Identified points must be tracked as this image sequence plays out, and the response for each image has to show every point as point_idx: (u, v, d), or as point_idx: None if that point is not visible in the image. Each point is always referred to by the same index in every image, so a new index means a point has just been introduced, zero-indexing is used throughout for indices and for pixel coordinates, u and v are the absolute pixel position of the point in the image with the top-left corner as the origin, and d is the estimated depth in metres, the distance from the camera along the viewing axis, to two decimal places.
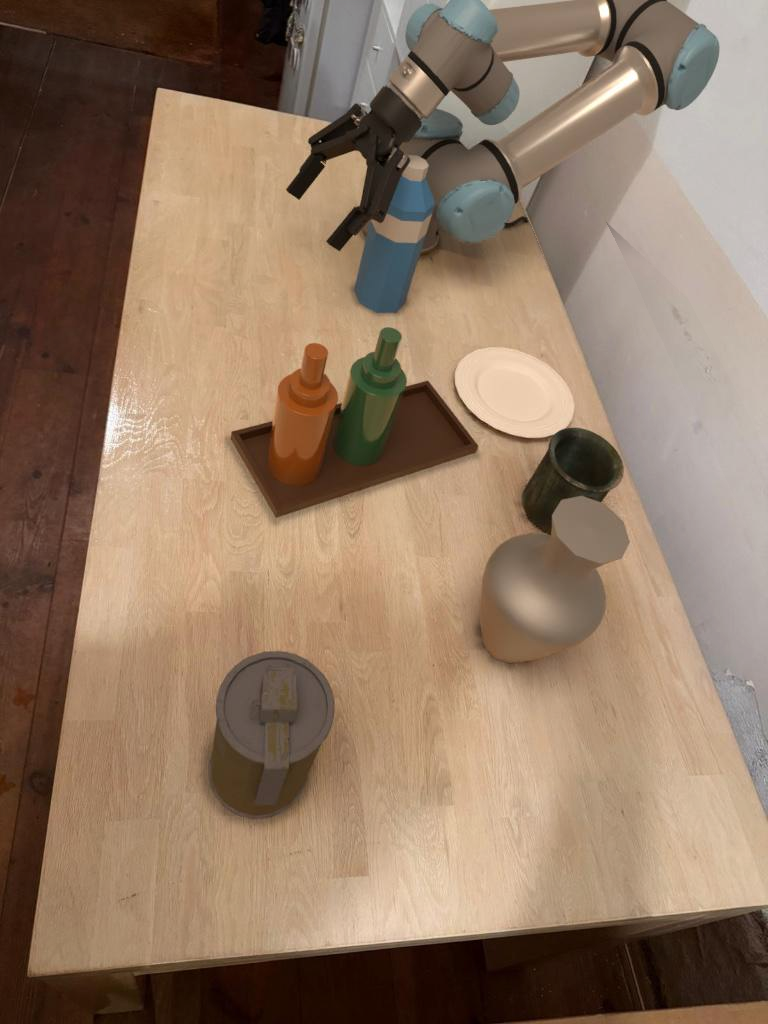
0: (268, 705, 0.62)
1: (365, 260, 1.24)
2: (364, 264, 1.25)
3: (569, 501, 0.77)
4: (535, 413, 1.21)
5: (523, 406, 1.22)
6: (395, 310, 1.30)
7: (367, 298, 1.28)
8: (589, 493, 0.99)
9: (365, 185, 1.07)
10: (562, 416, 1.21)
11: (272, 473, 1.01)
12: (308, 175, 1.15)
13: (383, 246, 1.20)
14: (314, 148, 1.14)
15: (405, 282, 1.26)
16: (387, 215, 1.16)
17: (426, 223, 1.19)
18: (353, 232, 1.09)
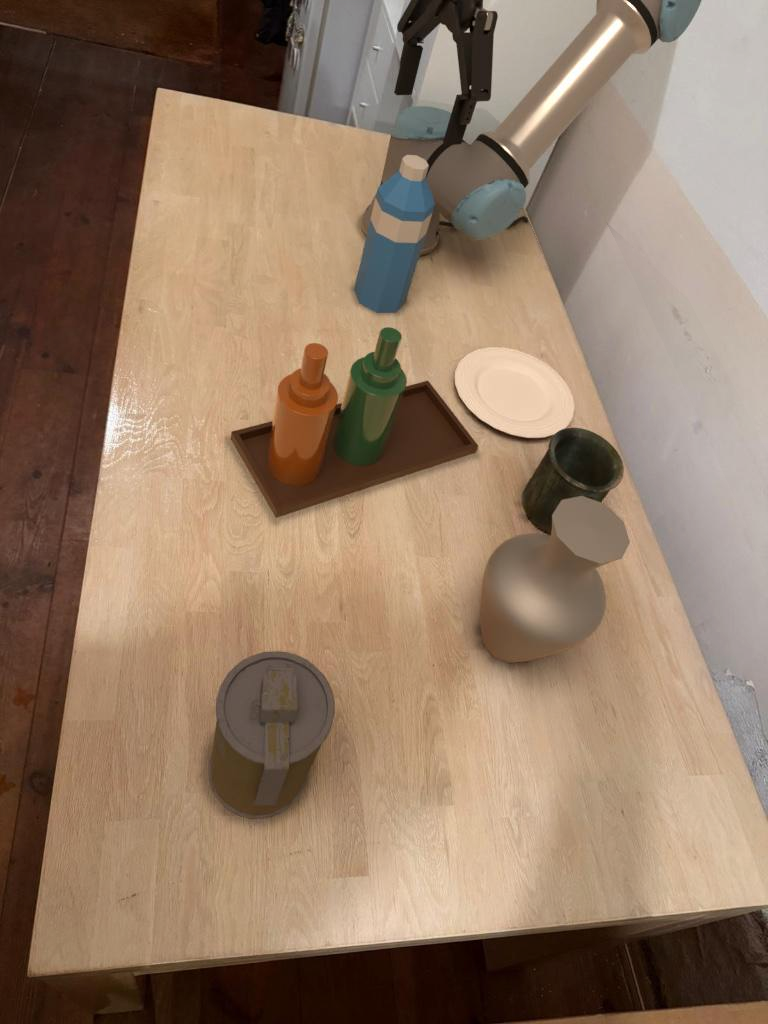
0: (268, 705, 0.62)
1: (365, 260, 1.24)
2: (364, 264, 1.25)
3: (569, 501, 0.77)
4: (535, 413, 1.21)
5: (523, 406, 1.22)
6: (395, 310, 1.30)
7: (367, 298, 1.28)
8: (589, 493, 0.99)
9: (460, 66, 0.97)
10: (562, 416, 1.21)
11: (272, 473, 1.01)
12: (409, 67, 1.07)
13: (383, 246, 1.20)
14: (404, 36, 1.04)
15: (405, 282, 1.26)
16: (387, 215, 1.16)
17: (426, 223, 1.19)
18: (465, 122, 1.01)
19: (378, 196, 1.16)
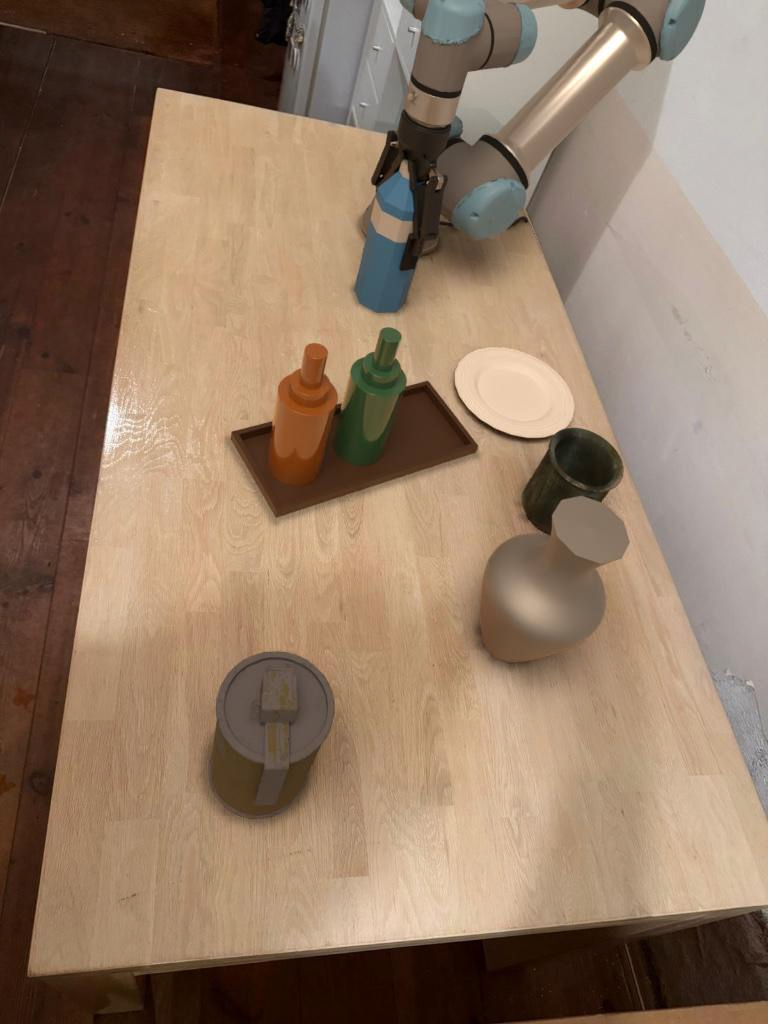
0: (268, 705, 0.62)
1: (365, 260, 1.24)
2: (364, 263, 1.25)
3: (569, 501, 0.77)
4: (535, 413, 1.21)
5: (523, 406, 1.22)
6: (395, 310, 1.30)
7: (367, 298, 1.28)
8: (589, 493, 0.99)
9: None
10: (562, 416, 1.21)
11: (272, 473, 1.01)
12: None
13: (383, 246, 1.20)
14: None
15: (405, 282, 1.26)
16: (387, 215, 1.16)
17: None
18: (417, 254, 1.19)
19: (378, 196, 1.16)
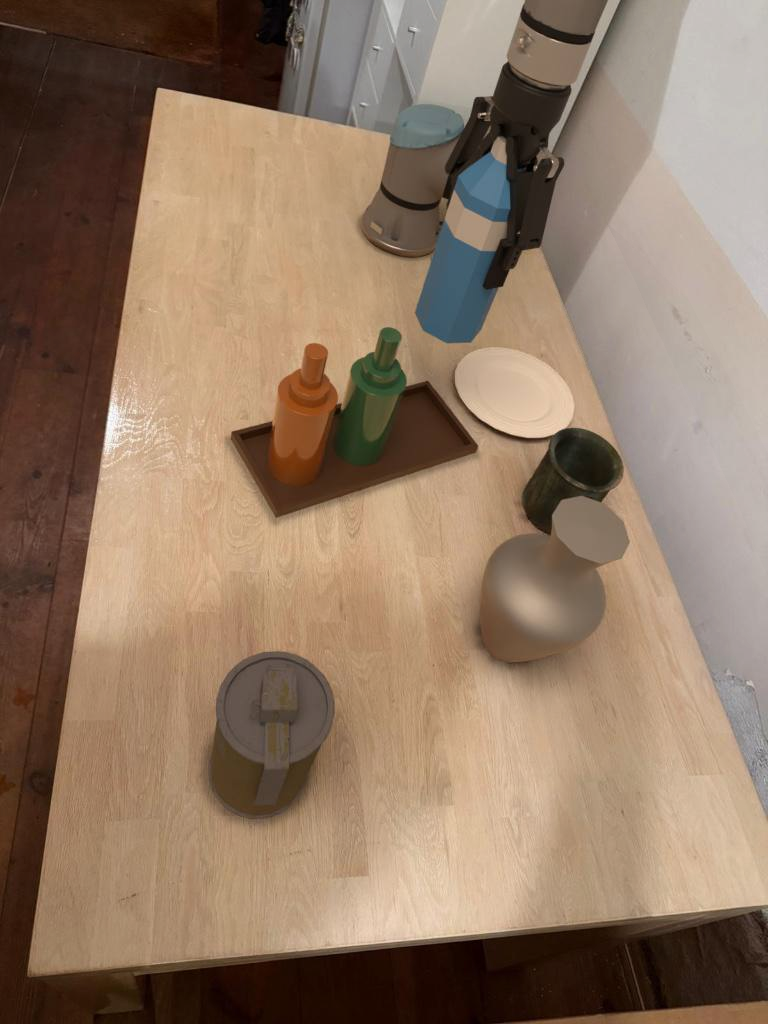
0: (268, 705, 0.62)
1: (434, 274, 0.93)
2: (433, 279, 0.93)
3: (569, 501, 0.77)
4: (535, 413, 1.21)
5: (523, 406, 1.22)
6: (470, 340, 0.98)
7: (434, 324, 0.96)
8: (589, 493, 0.99)
9: (510, 208, 0.83)
10: (562, 416, 1.21)
11: (272, 473, 1.01)
12: None
13: (462, 256, 0.88)
14: (454, 179, 0.89)
15: (487, 303, 0.94)
16: (472, 214, 0.84)
17: None
18: (509, 267, 0.87)
19: (459, 188, 0.85)
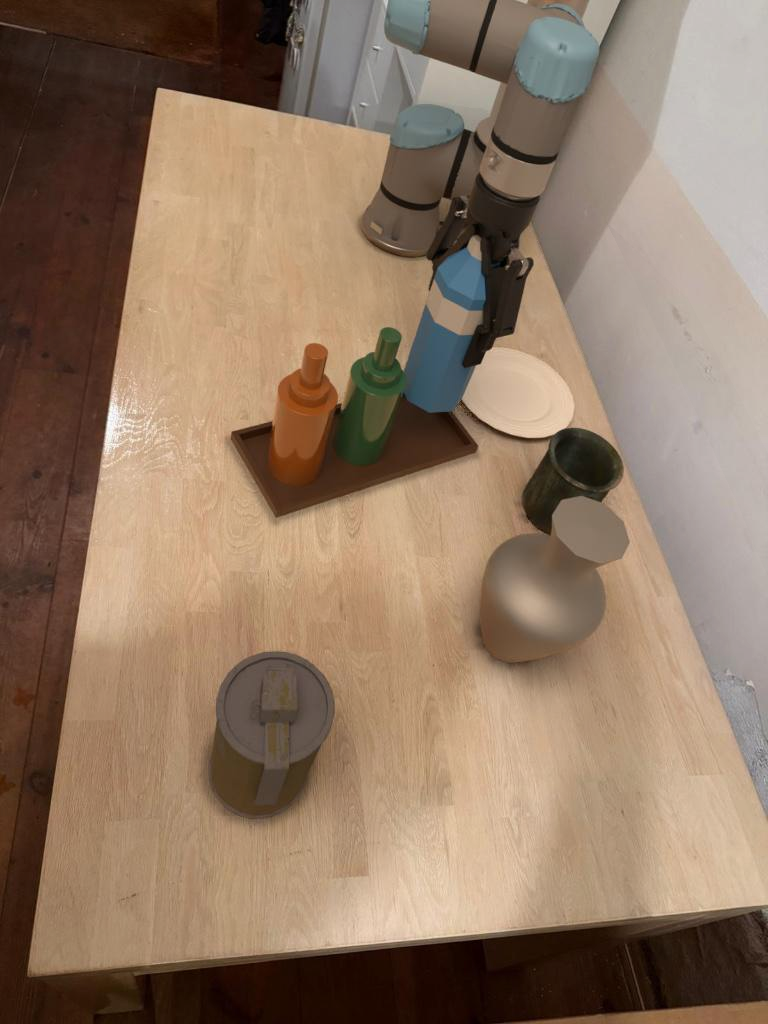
0: (268, 705, 0.62)
1: (417, 351, 1.00)
2: (416, 355, 1.00)
3: (569, 501, 0.77)
4: (535, 413, 1.21)
5: (523, 406, 1.22)
6: (451, 409, 1.05)
7: (418, 395, 1.03)
8: (589, 493, 0.99)
9: None
10: (562, 416, 1.21)
11: (272, 473, 1.01)
12: None
13: (442, 338, 0.95)
14: (434, 266, 0.96)
15: (466, 378, 1.01)
16: (450, 303, 0.91)
17: None
18: (486, 350, 0.94)
19: (438, 278, 0.91)
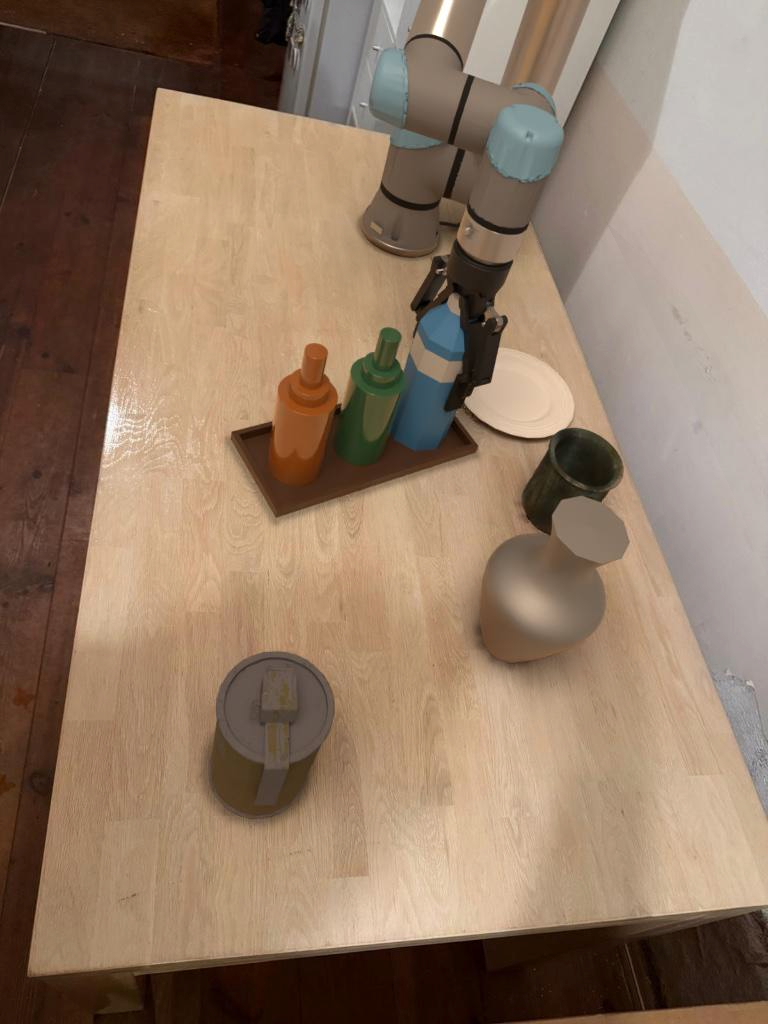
0: (268, 705, 0.62)
1: None
2: (401, 399, 1.06)
3: (569, 501, 0.77)
4: (535, 413, 1.21)
5: (523, 406, 1.22)
6: (435, 447, 1.11)
7: (403, 435, 1.09)
8: (589, 493, 0.99)
9: None
10: (562, 416, 1.21)
11: (272, 473, 1.01)
12: None
13: (425, 385, 1.01)
14: (417, 317, 1.02)
15: (449, 419, 1.07)
16: (431, 354, 0.97)
17: None
18: (465, 396, 1.00)
19: (420, 330, 0.98)
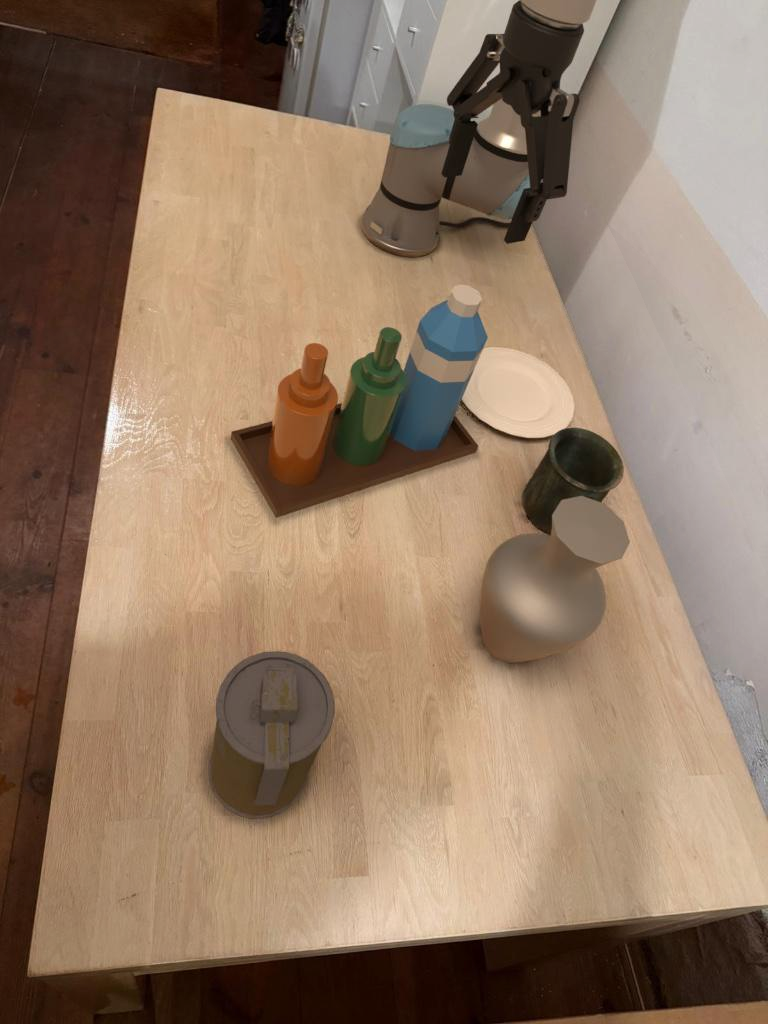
0: (268, 705, 0.62)
1: None
2: (401, 399, 1.06)
3: (569, 501, 0.77)
4: (535, 413, 1.21)
5: (523, 406, 1.22)
6: (435, 447, 1.11)
7: (403, 435, 1.09)
8: (589, 493, 0.99)
9: (529, 156, 0.80)
10: (562, 416, 1.21)
11: (272, 473, 1.01)
12: (461, 146, 0.89)
13: (425, 385, 1.01)
14: (456, 111, 0.87)
15: (449, 419, 1.07)
16: (431, 354, 0.97)
17: (476, 359, 1.00)
18: (532, 219, 0.83)
19: (420, 330, 0.98)
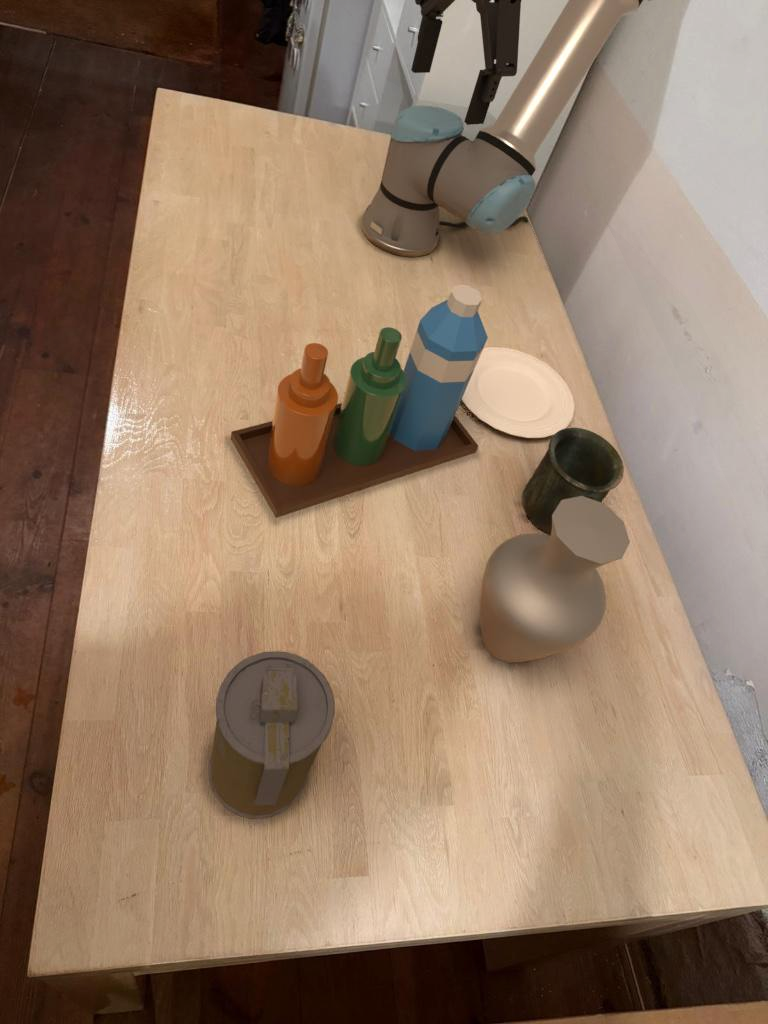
0: (268, 705, 0.62)
1: None
2: (401, 399, 1.06)
3: (569, 501, 0.77)
4: (535, 413, 1.21)
5: (523, 406, 1.22)
6: (435, 447, 1.11)
7: (403, 435, 1.09)
8: (589, 493, 0.99)
9: (484, 38, 0.91)
10: (562, 416, 1.21)
11: (272, 473, 1.01)
12: (428, 42, 1.01)
13: (425, 385, 1.01)
14: (423, 8, 0.98)
15: (449, 419, 1.07)
16: (431, 354, 0.97)
17: (476, 359, 1.00)
18: (488, 99, 0.94)
19: (420, 330, 0.98)
